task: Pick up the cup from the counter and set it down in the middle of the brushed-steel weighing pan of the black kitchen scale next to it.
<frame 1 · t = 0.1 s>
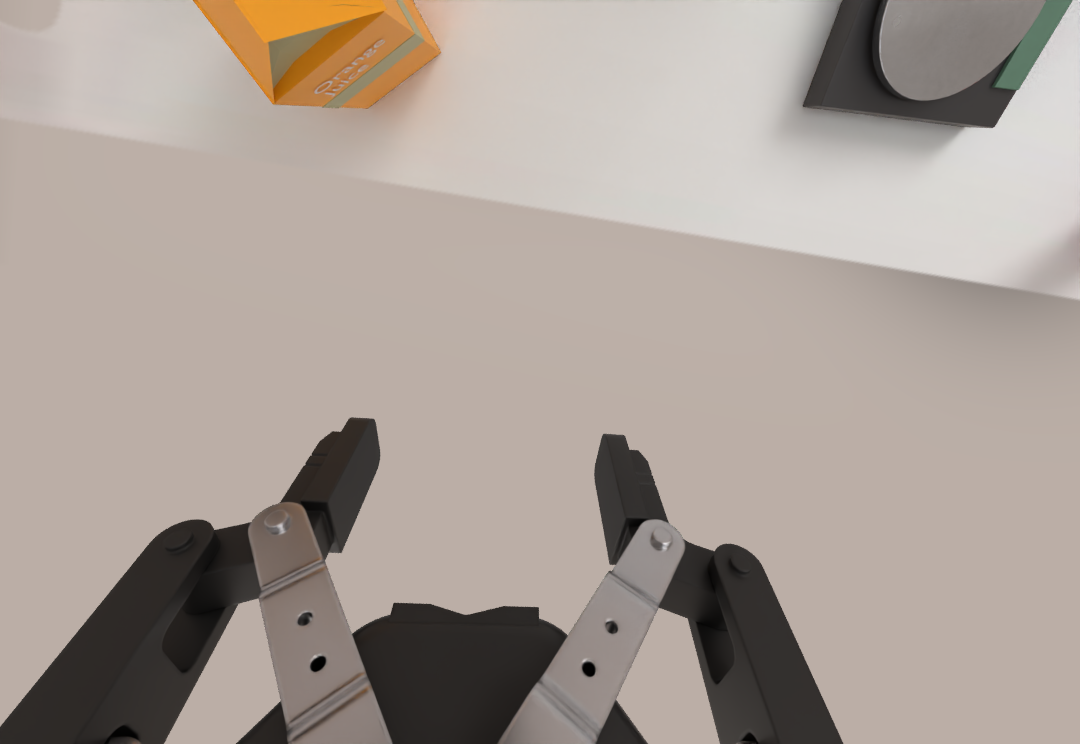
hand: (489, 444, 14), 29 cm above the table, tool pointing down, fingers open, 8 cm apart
platter: (961, 5, 28), point 3 cm above the table, slide at 0.0 cm
scale: (932, 17, 31), on the table
orange juice: (366, 19, 30), on the table
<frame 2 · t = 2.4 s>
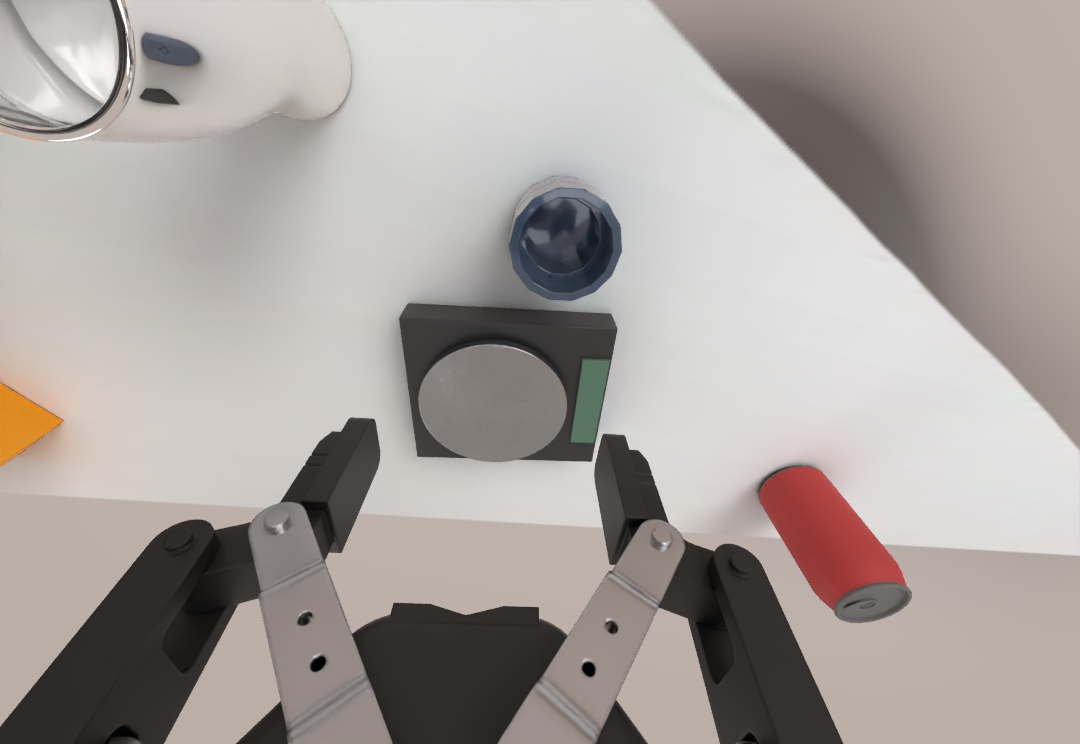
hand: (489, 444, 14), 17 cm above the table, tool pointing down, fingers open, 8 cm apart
beer can: (787, 483, 41), on the table
platter: (493, 406, 30), point 3 cm above the table, slide at 0.0 cm
scale: (508, 380, 33), on the table
beer glass: (294, 52, 21), on the table
cup: (559, 226, 27), on the table
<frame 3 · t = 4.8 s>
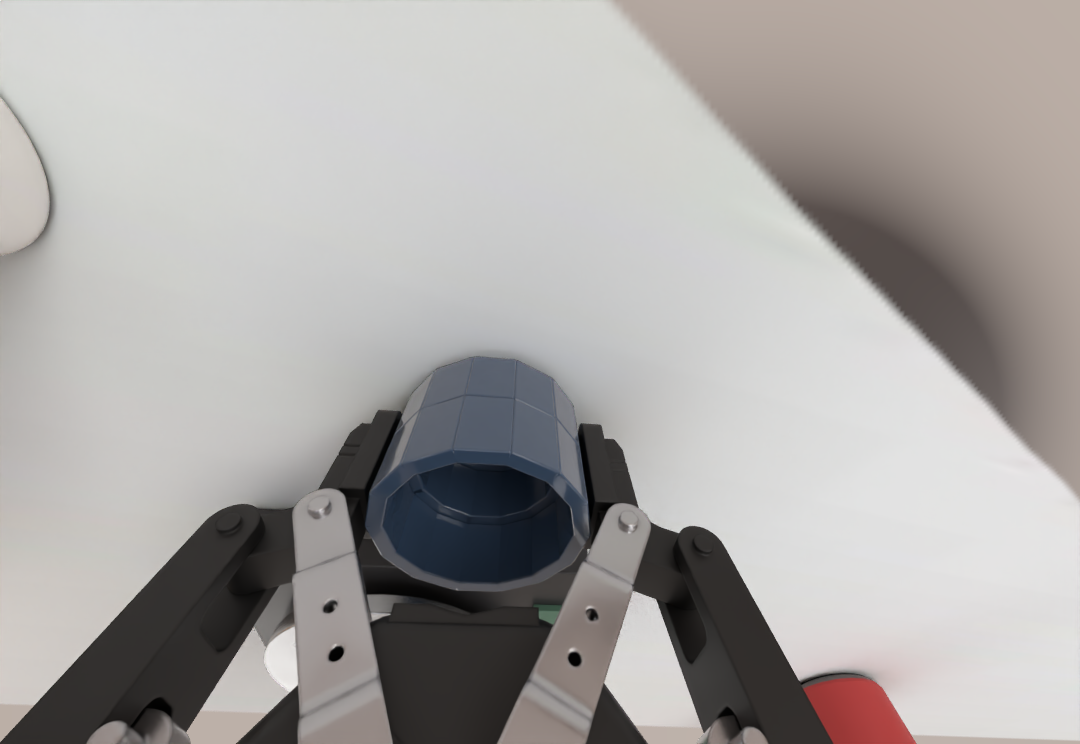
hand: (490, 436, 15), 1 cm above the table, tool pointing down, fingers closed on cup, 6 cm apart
beer can: (827, 686, 30), on the table
platter: (393, 664, 19), point 3 cm above the table, slide at 0.0 cm
scale: (429, 592, 22), on the table
cup: (493, 418, 15), on the table, touching gripper
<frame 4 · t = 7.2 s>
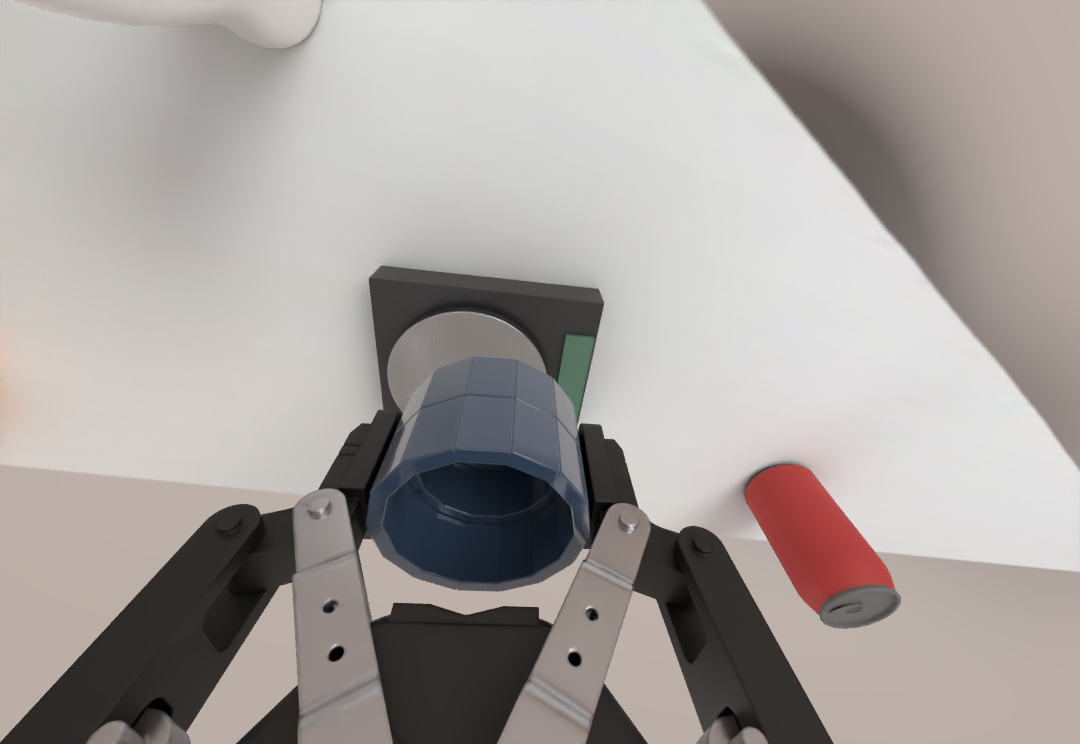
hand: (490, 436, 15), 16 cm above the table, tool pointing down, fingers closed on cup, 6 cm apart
beer can: (775, 482, 40), on the table
platter: (469, 381, 28), point 3 cm above the table, slide at 0.0 cm
scale: (487, 358, 31), on the table
cup: (493, 418, 15), point 15 cm above the table, touching gripper
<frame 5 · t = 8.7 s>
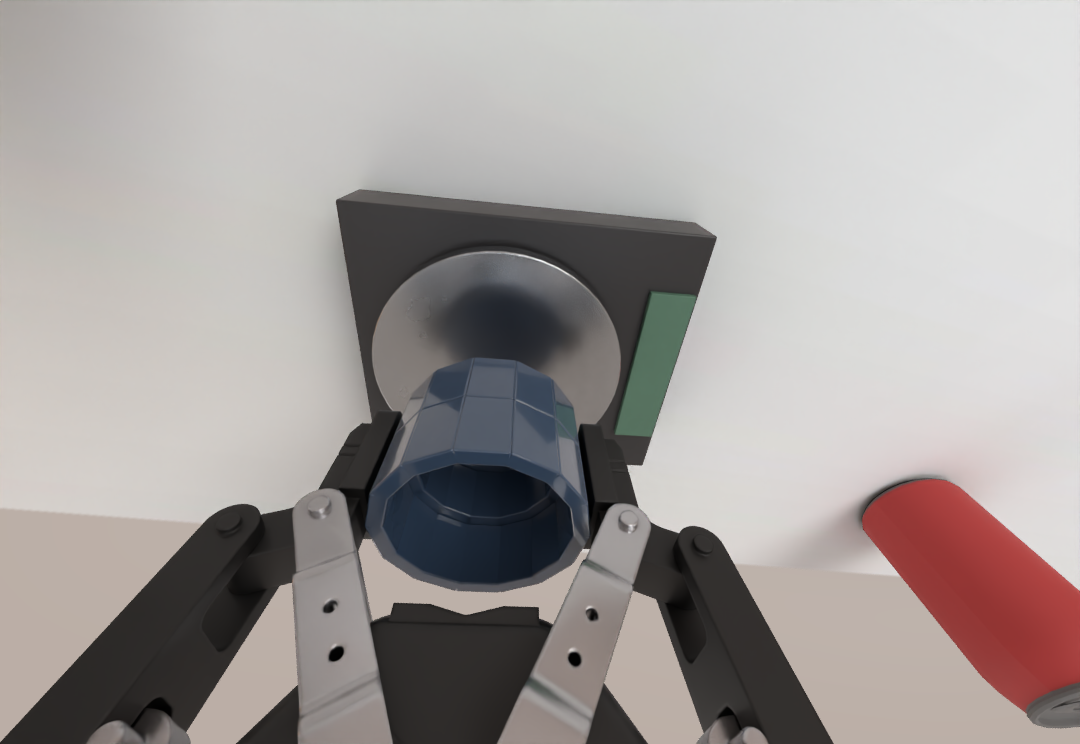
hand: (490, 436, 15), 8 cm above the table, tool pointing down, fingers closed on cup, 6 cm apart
beer can: (902, 502, 30), on the table
platter: (498, 369, 18), point 3 cm above the table, slide at 0.0 cm
scale: (521, 336, 21), on the table
cup: (493, 418, 15), point 7 cm above the table, touching gripper
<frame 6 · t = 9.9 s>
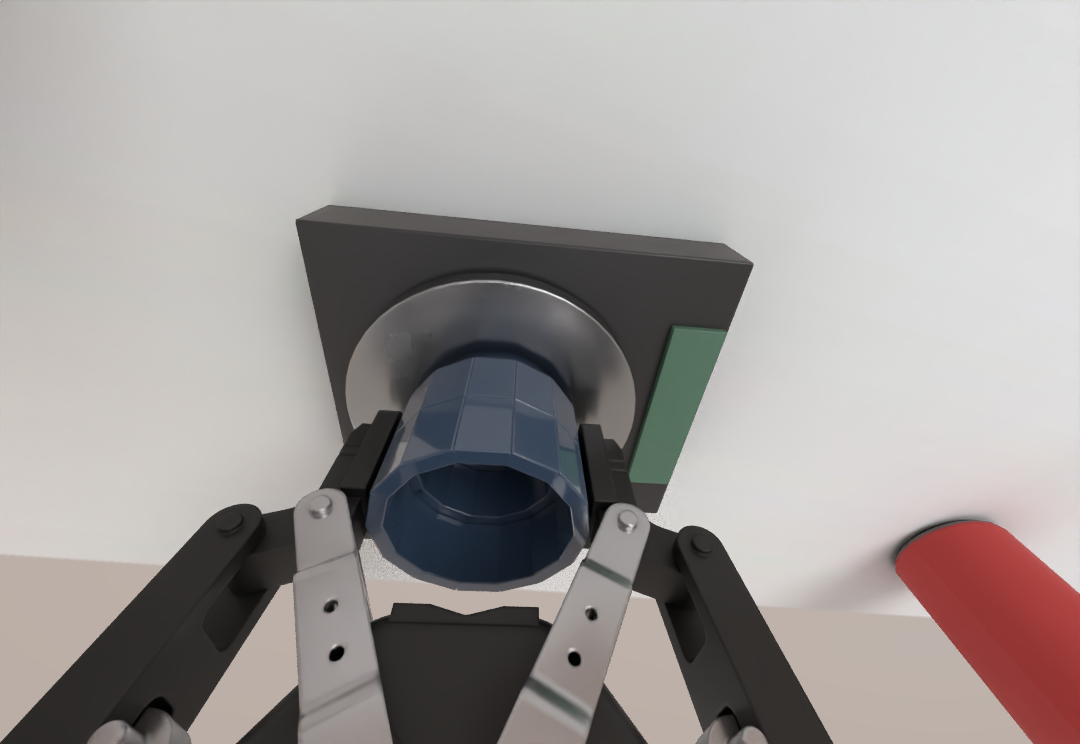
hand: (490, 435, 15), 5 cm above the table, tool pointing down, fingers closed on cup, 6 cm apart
beer can: (939, 543, 27), on the table
platter: (493, 411, 16), point 3 cm above the table, slide at -0.2 cm, touching cup
scale: (520, 369, 19), on the table
cup: (493, 418, 16), point 4 cm above the table, touching gripper, platter
when the fingers open (5 cm above the table, at t = 10.1 s): cup stays where it is, resting on platter.
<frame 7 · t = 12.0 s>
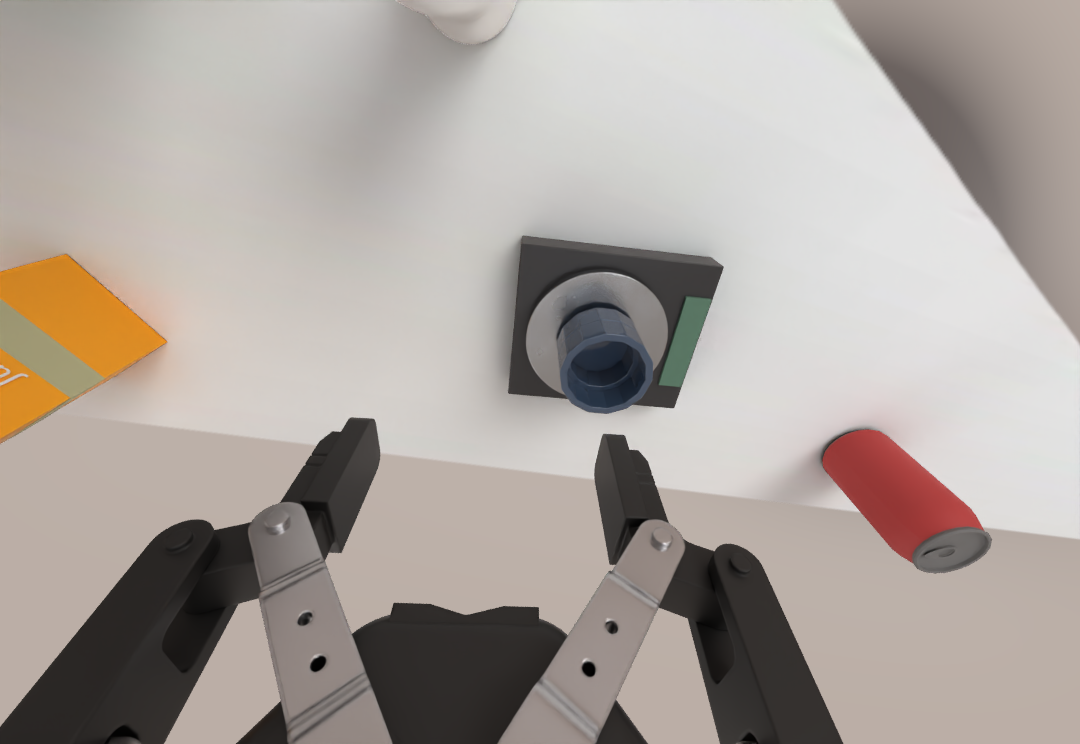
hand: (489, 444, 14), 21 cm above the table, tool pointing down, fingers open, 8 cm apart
beer can: (850, 449, 42), on the table
platter: (596, 339, 32), point 3 cm above the table, slide at 0.0 cm, touching cup
scale: (602, 323, 35), on the table
cup: (596, 342, 31), point 4 cm above the table, touching platter
orange juice: (94, 319, 34), on the table
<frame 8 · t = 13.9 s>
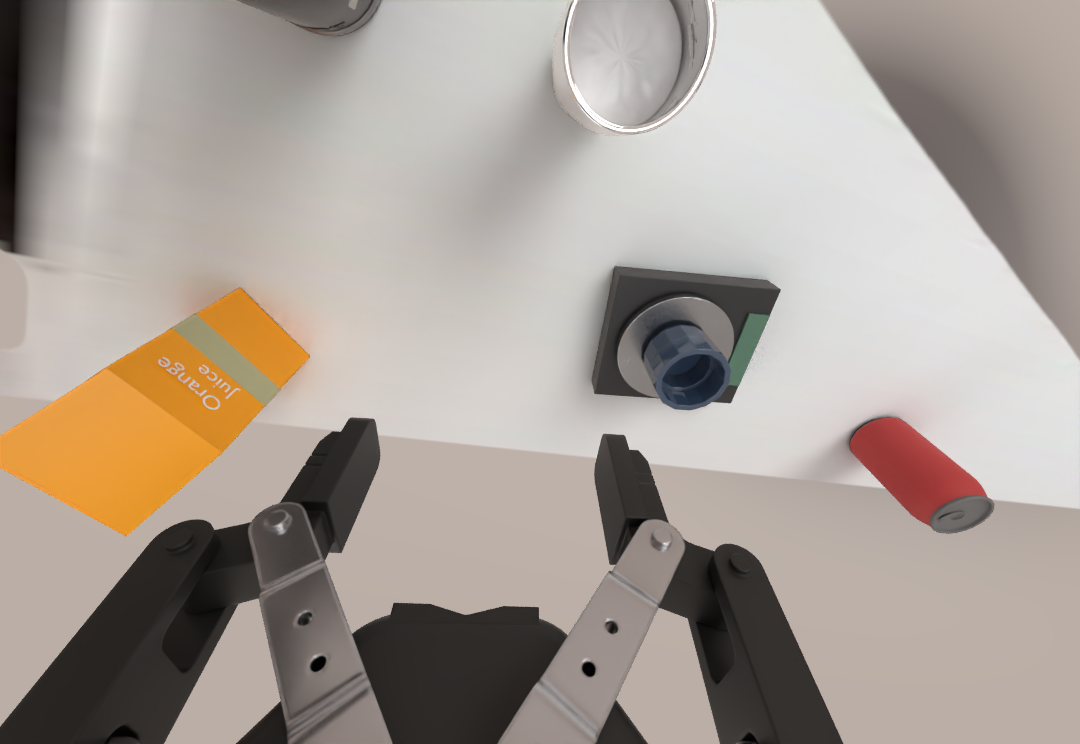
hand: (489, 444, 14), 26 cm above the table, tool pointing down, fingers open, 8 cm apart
beer can: (873, 434, 50), on the table
platter: (674, 349, 39), point 3 cm above the table, slide at 0.0 cm, touching cup
scale: (673, 334, 42), on the table
beer glass: (592, 75, 30), on the table
cup: (675, 351, 38), point 4 cm above the table, touching platter
orange juice: (252, 339, 41), on the table
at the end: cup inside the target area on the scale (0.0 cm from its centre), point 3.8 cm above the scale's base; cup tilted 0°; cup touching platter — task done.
